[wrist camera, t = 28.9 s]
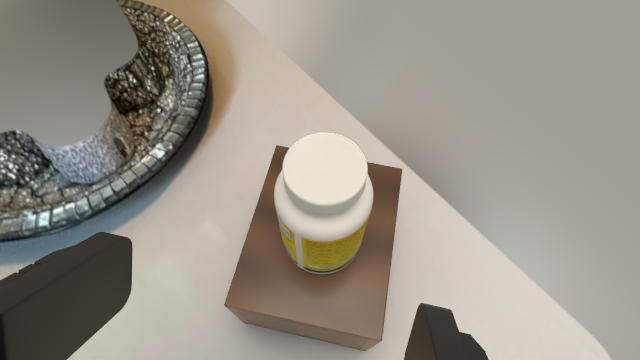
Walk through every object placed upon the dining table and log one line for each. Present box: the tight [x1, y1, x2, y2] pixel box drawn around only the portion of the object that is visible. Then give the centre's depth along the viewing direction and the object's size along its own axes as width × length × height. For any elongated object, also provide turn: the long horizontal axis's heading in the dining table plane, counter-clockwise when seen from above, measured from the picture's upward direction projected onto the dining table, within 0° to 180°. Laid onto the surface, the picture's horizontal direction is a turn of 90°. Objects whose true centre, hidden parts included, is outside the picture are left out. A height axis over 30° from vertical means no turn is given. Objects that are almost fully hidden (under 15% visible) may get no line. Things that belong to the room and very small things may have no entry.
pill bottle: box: [274, 132, 373, 274], centre depth 25 cm, size 6×6×11 cm
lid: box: [224, 146, 402, 342], centre depth 30 cm, size 14×12×1 cm
